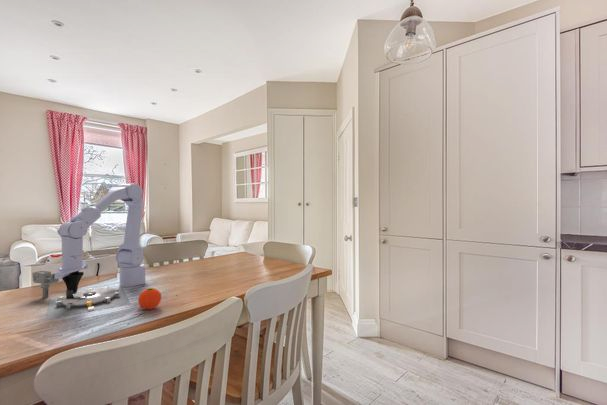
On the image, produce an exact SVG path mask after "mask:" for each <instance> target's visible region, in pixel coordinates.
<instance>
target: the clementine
mask: <svg viewBox="0 0 607 405" xmlns="http://www.w3.org/2000/svg"><path fill="white" fill-rule="evenodd" d="M161 301H162V293H161V291H159V289H157V288H154V287H148V288H146V289H144V290H143V291H141V292H140V294H139V296H138V305H139V306H140V307H141V309H143V310H153V309H154V308H157V307H158V306H159V304H160V302H161Z"/></svg>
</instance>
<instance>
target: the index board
mask: <svg viewBox="0 0 607 405" xmlns="http://www.w3.org/2000/svg"><path fill="white" fill-rule="evenodd" d="M116 288H119V292H120V296H119V297H115V298H113V299H111V301H110V302H108V303H106V302H103V303H100V304H96V305H91V307H87V306H84V307H73V308H71V309H66V307H63V306H59V307H56V302H57V298H58V297H62V296H63V295H59V296H53V297H50V298H49V303H48V307H47V311H46V315H45V318H44V321H48V320H53V319H60V318H63V317H64V318H65V317H69V316H74V315H80V314H85V313H90V312H94V311H95V312H96V311H100V310H101V311H102V310H106V309H112V308H116V307H117V308H118V307H123V306H127V305H131V302H130V300H129V297H128V296H127V295H128V294H126V292H125V290H124V287H122V286H118V287H117V286H116V287H112V289H116Z"/></svg>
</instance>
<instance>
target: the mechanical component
mask: <svg viewBox="0 0 607 405" xmlns="http://www.w3.org/2000/svg"><path fill="white" fill-rule="evenodd" d="M55 273H56V272H52V271H47V270H37V271H34V272H32V274H31V275H32V282H33V283H34V284H41V286H40V289H42V298H48V297H49V289H50V287H51V285H52V284H55V283H58V282H59V280H60V279H55Z"/></svg>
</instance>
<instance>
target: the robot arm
mask: <svg viewBox="0 0 607 405" xmlns="http://www.w3.org/2000/svg"><path fill="white" fill-rule="evenodd" d="M143 191H144V189H143V188H142V187H141V186H140V185H139V184H138V183H134V182H133V183H116V184H114V186H112V187H110V189H109V191H107V193H105V194H104V195H103V196H102V197H101V198H100V199H99V200H98V201H97V202H95V204H94V205H93V206H85V207H82V208H81V209H80V210H81V211H80V212H78V213H77V214H76V215H75V216H72V217H70V220H69V221H65V222H62V223H61V224H60V226H59V229H57V234H58V235H59V237H60V238H61V240H60V241H61V267H59V268H58V271H57V272H54V273H55V279H59V280H60V279H61V280H62V281H63V282H64V284H65V286H66V290H68V289H74V294H75V293H77V291H78V290H79V288H78V286H79V283H80V281H81V279H82V277H83V276H84V271H82V270H86V269H88V266H89V264H88V262H83V259H84V258H83V256H84V251H83V247H84V246H83V245H84V241H83V239H84V236H86V235H87V233H88V229H89V227H91V226H92V225H93V224H95V222H97V221H99V219H100V218H101V217H102V212H104V211H105V210H106V209H107V208H109V207H110V206H111V205H112V204H115V202H116V201H118V200H119V201H122V202H124V203H125V204H126V206H128V208H127V217H126V223H125V231H124V238H123V243H122V244H121V245H119V247H118V250H117V253H116V255H115V261H116V262H117V264H118V266H119V287H122V288H124V287H125V288H126V287H128V288H129V287H133V286H134V287H135V286H139V285H144V284H146V265H145V264H144V263H143V264H142V262H144V257H145V255H144V251H143V250H144V247H142V245H141V244H140V243H139V242H140V235H141V228H142V220H143V210H144V199H143V194H144V192H143Z"/></svg>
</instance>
